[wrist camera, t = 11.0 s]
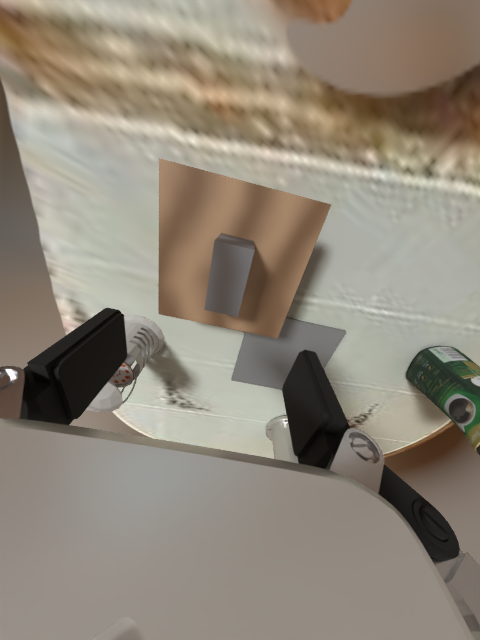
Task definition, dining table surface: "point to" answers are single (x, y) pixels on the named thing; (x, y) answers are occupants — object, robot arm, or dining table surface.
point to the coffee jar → (450, 387)
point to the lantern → (130, 361)
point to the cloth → (231, 249)
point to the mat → (283, 352)
